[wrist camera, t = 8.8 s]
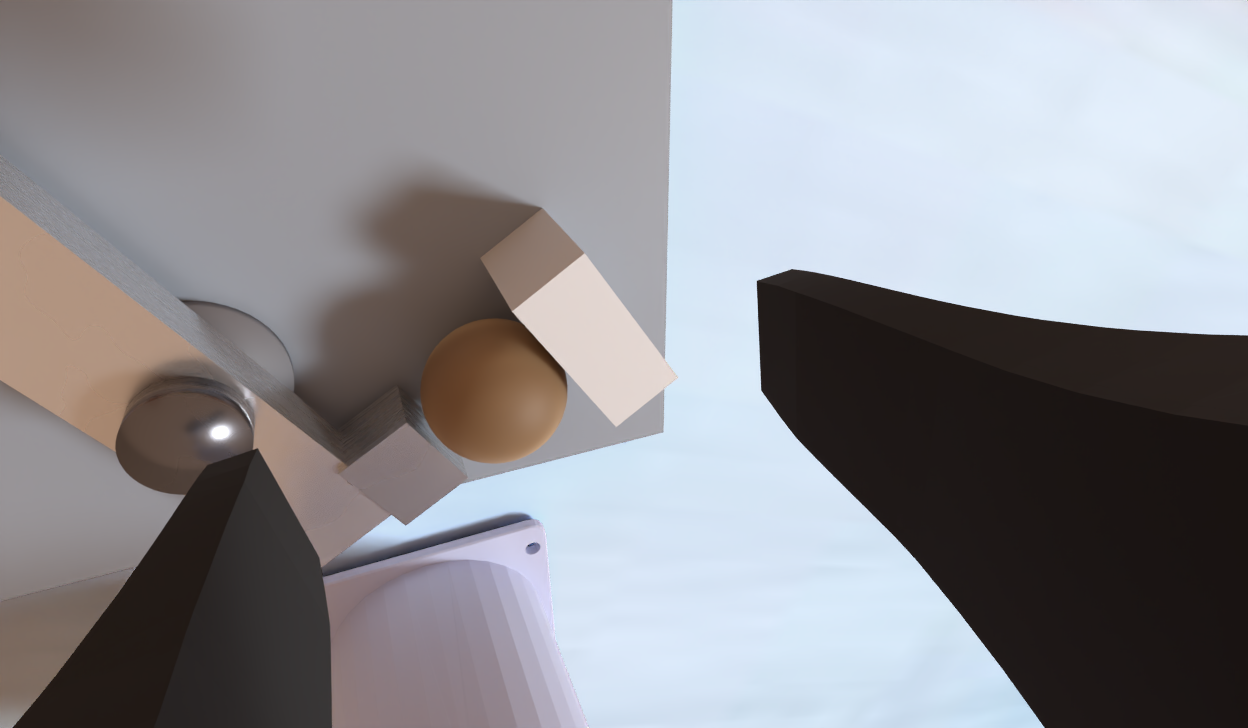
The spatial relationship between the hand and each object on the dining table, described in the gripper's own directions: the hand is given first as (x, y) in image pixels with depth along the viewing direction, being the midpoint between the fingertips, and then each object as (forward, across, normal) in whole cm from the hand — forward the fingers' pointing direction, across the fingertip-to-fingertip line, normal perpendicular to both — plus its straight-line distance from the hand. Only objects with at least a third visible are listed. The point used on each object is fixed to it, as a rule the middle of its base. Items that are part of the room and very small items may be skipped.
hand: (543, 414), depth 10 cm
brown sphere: (+9, 0, +4) cm, 10 cm away
